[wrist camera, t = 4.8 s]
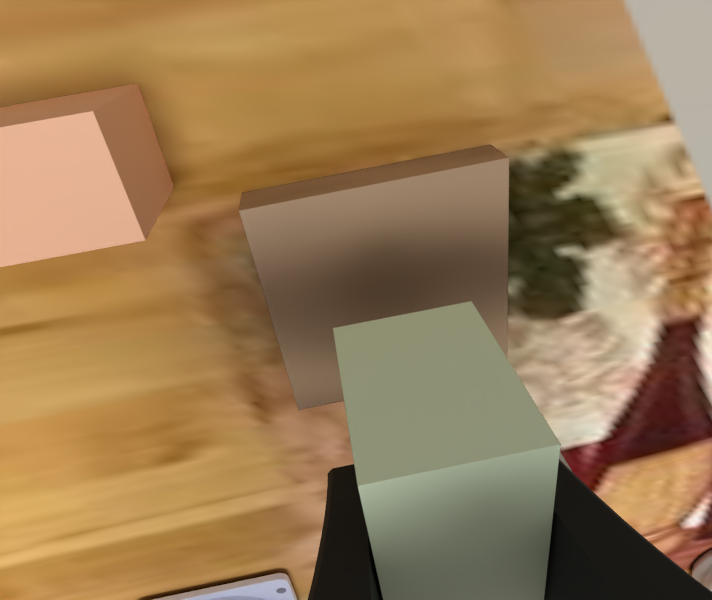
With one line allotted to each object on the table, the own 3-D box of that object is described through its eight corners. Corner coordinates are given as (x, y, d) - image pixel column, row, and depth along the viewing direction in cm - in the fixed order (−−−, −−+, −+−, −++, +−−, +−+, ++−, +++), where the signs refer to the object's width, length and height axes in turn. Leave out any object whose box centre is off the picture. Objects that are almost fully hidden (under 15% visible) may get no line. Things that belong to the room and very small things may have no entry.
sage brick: (476, 482, 14) (539, 640, 10) (369, 504, 14) (399, 671, 10) (471, 300, 11) (560, 444, 7) (332, 328, 11) (357, 485, 7)
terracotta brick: (138, 82, 14) (93, 111, 10) (174, 186, 15) (145, 240, 12) (-81, 121, 14) (-201, 162, 10) (-22, 222, 15) (-107, 286, 12)
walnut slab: (488, 336, 21) (507, 366, 19) (296, 375, 20) (298, 410, 19) (485, 140, 16) (509, 157, 15) (243, 188, 16) (239, 210, 14)
